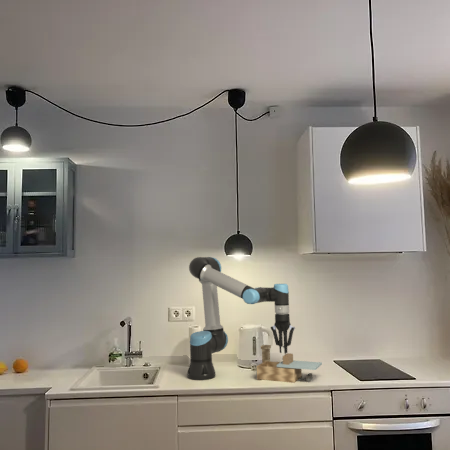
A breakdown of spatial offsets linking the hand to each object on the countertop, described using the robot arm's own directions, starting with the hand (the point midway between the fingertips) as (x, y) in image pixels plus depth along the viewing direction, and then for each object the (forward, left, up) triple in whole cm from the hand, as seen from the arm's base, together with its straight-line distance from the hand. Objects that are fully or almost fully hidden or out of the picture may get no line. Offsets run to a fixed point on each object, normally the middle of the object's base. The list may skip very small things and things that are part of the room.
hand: (283, 359), depth 232 cm
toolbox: (+1, 0, -10) cm, 10 cm away
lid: (+8, 0, -3) cm, 9 cm away
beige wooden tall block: (-16, +16, -10) cm, 24 cm away
